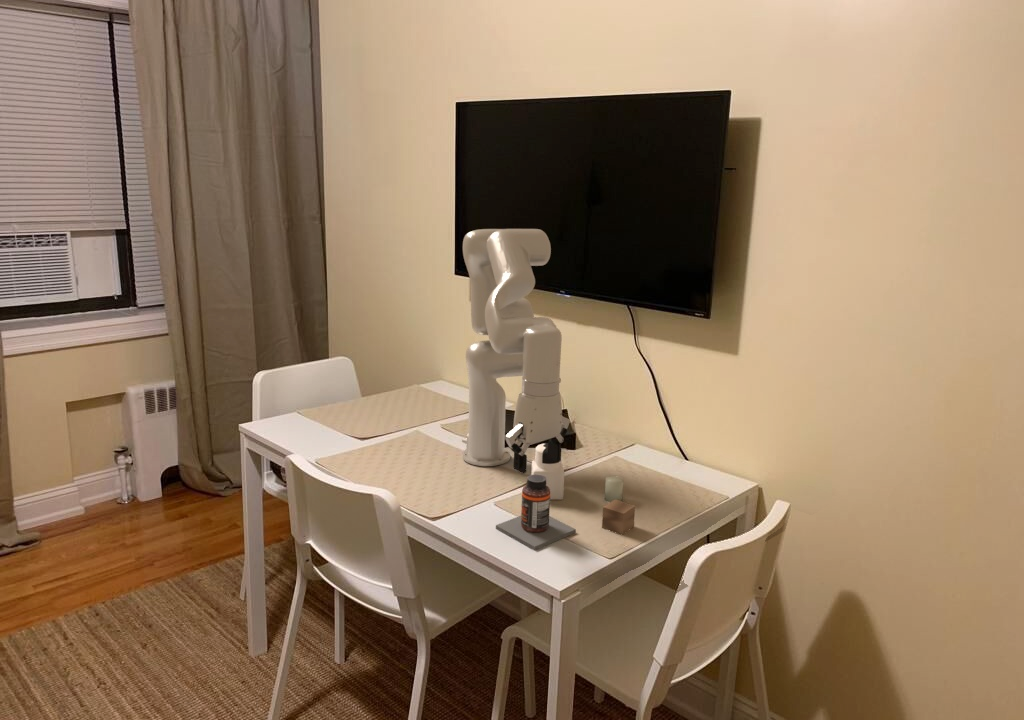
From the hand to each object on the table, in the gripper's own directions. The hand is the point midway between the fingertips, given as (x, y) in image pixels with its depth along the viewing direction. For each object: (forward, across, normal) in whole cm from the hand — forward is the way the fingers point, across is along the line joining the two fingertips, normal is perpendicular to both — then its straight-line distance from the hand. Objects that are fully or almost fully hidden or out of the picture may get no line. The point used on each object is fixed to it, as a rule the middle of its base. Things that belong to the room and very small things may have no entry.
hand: (537, 464), depth 157 cm
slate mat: (+15, 0, +1) cm, 15 cm away
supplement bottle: (+14, 0, +1) cm, 14 cm away
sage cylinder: (+15, -25, +1) cm, 29 cm away
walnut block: (+15, -15, +11) cm, 23 cm away
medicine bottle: (+15, -15, -11) cm, 24 cm away
